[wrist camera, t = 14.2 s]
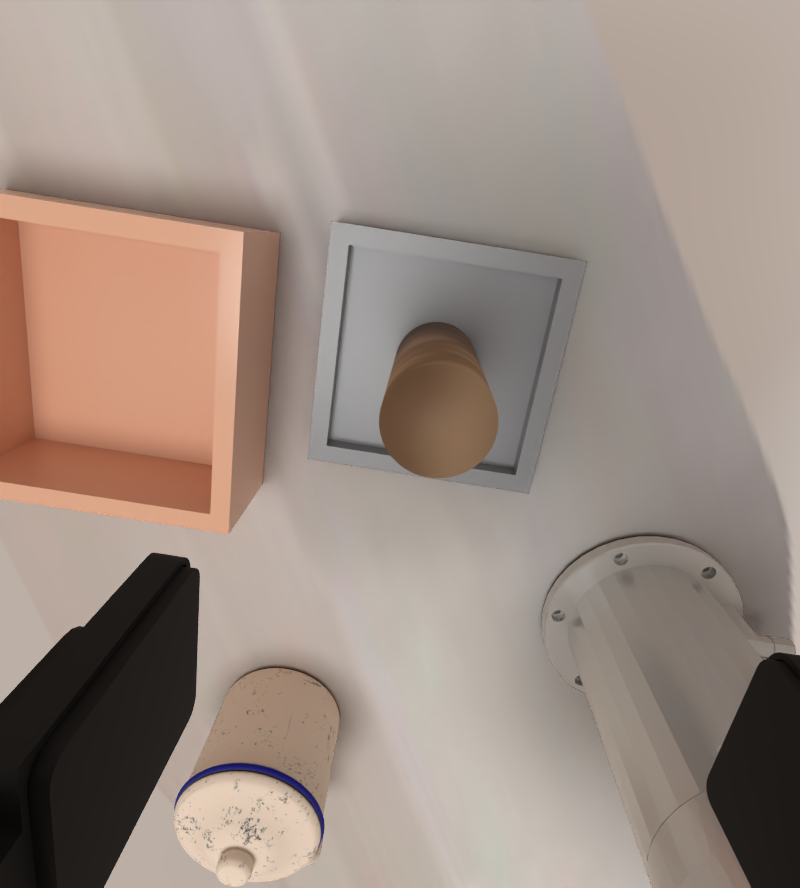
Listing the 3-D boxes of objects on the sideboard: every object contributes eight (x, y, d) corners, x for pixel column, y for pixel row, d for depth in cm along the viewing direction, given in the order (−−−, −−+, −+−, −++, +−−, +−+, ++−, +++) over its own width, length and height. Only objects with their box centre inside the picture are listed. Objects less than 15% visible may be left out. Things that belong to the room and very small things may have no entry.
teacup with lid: (199, 685, 42) (118, 843, 31) (307, 646, 40) (262, 799, 29) (278, 796, 45) (230, 974, 34) (381, 764, 44) (365, 941, 33)
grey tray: (577, 259, 31) (587, 261, 29) (523, 479, 35) (528, 493, 33) (337, 221, 31) (331, 220, 29) (314, 447, 35) (307, 459, 33)
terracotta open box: (280, 232, 31) (243, 232, 25) (262, 483, 36) (228, 534, 30) (4, 189, 31) (-101, 177, 25) (26, 447, 36) (-56, 489, 30)
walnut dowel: (483, 329, 31) (510, 375, 21) (467, 407, 33) (485, 486, 22) (401, 315, 31) (388, 355, 21) (389, 394, 33) (371, 468, 22)
